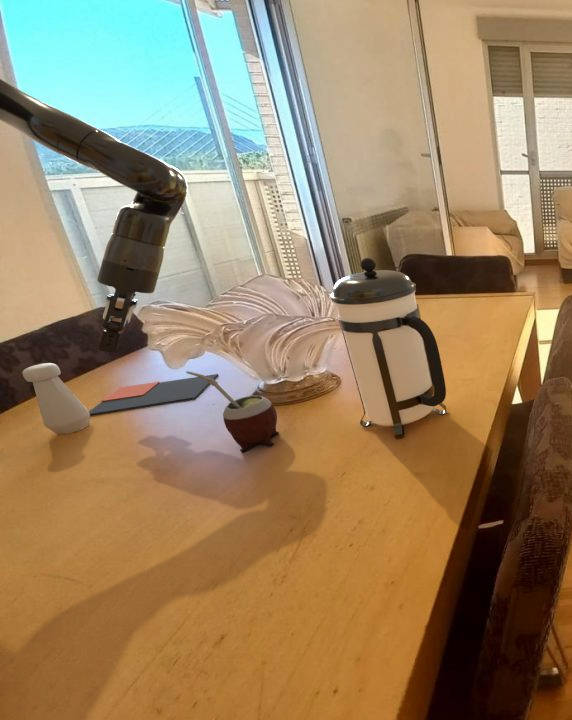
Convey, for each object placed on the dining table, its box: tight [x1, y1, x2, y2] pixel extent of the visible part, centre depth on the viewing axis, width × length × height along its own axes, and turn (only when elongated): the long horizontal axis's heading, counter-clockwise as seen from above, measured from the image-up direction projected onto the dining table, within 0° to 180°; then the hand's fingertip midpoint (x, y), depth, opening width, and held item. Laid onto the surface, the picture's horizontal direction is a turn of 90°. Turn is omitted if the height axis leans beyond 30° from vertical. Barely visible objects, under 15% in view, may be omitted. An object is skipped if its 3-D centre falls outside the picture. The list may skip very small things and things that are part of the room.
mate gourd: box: [185, 370, 280, 454], centre depth 79 cm, size 8×8×15 cm
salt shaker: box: [22, 362, 91, 435], centre depth 87 cm, size 6×6×13 cm
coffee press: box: [330, 257, 447, 439], centre depth 82 cm, size 17×16×30 cm
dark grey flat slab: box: [88, 373, 219, 417], centre depth 102 cm, size 18×13×1 cm
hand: (109, 346), depth 89 cm, fingers open, 8 cm apart
